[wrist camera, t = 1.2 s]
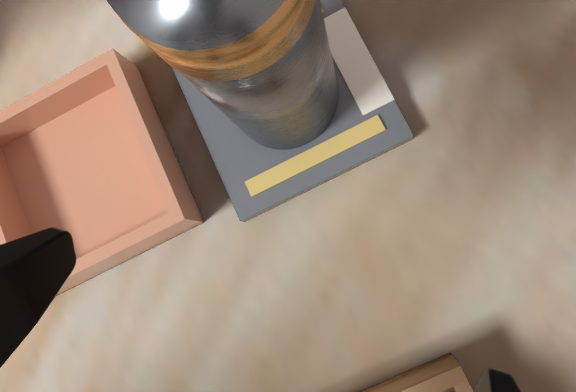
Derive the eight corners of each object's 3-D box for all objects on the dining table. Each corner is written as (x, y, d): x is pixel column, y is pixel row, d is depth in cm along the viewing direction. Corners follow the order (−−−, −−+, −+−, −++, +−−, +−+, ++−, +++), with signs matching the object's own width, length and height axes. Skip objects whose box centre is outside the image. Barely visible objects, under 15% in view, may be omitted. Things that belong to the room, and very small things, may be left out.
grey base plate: (244, 222, 24) (239, 221, 23) (175, 68, 25) (168, 61, 24) (412, 139, 23) (413, 134, 22) (329, -15, 24) (327, -25, 23)
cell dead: (258, 169, 23) (117, 67, 10) (215, 76, 24) (36, -124, 11) (358, 119, 22) (340, -57, 10) (310, 25, 23) (236, -246, 11)
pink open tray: (50, 299, 25) (15, 303, 22) (-5, 145, 27) (-43, 134, 24) (203, 222, 24) (184, 219, 22) (137, 67, 26) (112, 48, 23)
